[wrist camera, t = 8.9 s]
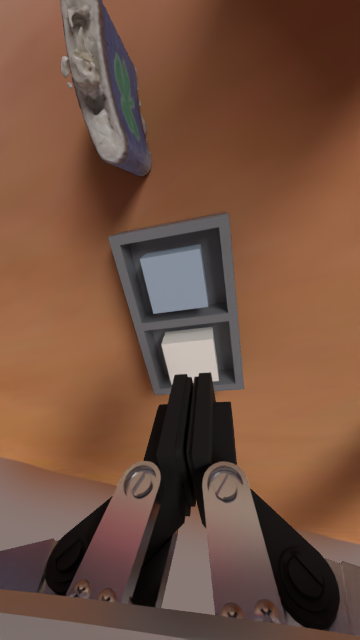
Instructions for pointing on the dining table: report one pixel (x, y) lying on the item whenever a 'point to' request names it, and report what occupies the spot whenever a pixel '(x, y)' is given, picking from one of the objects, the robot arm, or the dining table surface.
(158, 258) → the blue key
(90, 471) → the dining table surface
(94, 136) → the dark blue boxy piece
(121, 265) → the key panel
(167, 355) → the white key
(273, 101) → the dining table surface
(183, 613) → the robot arm
